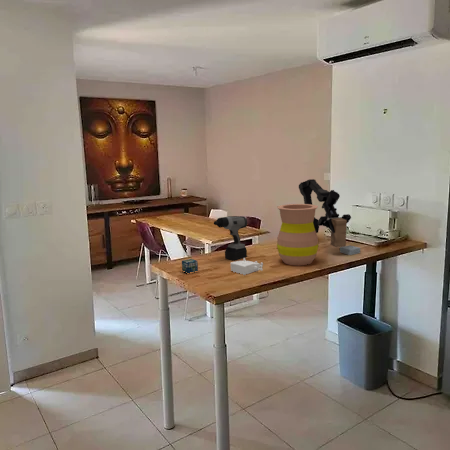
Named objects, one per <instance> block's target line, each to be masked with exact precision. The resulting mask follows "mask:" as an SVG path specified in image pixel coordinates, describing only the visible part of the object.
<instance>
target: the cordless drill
mask: <svg viewBox="0 0 450 450" xmlns="http://www.w3.org/2000/svg"><path fill="white" fill-rule="evenodd" d="M213 225H215V226H217V227H218V228H220V229H221V228H224V229H225V230H228V231H229V235H230V236H232V238H233V242H232V243H229V244H228V246H226V249H225V251H224V257H225V260H230V261H232V262H236V261H240V260H241V259H242V260H243V258H245V259H246V258H247V257H248V252H247V247H246V244H245V243H241V238H240V235H239V231H240V230H241V229H244V228H247V226H248V219H247V217H246V216H243V215H242V216H239V215H238V216H237V215H233V216H232V215H230V216H224V217H218V218H217V219H216V220H214V221H213Z"/></svg>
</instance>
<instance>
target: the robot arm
mask: <svg viewBox="0 0 450 450" xmlns="http://www.w3.org/2000/svg"><path fill="white" fill-rule="evenodd" d="M298 189H299V193H300V194H301V195H302V196H303V204H310V205H313V199H312V193H313V192H314V193H315V194H316V199H317V200H318V202H319V203H322V206H321V209H324V211H325V214H324V216H323V215H321V216H320V217H319V218H316V217H315V216H314V220H313V224H314V228H315V231H316V234H319V230H320V227H326V228H328V229H329V230H330V232H331V231H332V232H333V233H335V230H334V226H333V223H332V219H337V218H342V219H345V220H347V224H349V221H351V219H352V216H351V214H349V213H348V214H343V215H341V217H340V214H339V213H338V212H337V207H335V205H336V204H337V202H338V201H339V199H340V198H341V197H340V193H338V192H337V191H335V189H331V190H329V191H328V190H327V189H324V188H322V186H321V185H320V184H319V183H318V182H317V180H316V179H314V178H312V179H307V180H305V181H303V182H300V183H299V184H298Z"/></svg>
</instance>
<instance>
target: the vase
mask: <svg viewBox="0 0 450 450" xmlns="http://www.w3.org/2000/svg"><path fill="white" fill-rule="evenodd" d="M318 208H319V205H317V204H312V205H310V204H304V203H291V204H290V203H289V204H281V205H280V204H279V205H278V206H277V210H279V215H280V221H281V225H280V228H279V230H278V231H279V232H278V234H277V241H276V247H277V251H278V252H277V253H278V256H279V257H280V259H281V260H282V262H283V264H286V265H290V266H306V265H307V264H308V265H310V264H312V263H313V261H314V260H315V258H316V257H317V253H318V249H319V237H318V233H316V231H315V228H314V224H313V220H314V217H315V216H316V210H317V209H318Z"/></svg>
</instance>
